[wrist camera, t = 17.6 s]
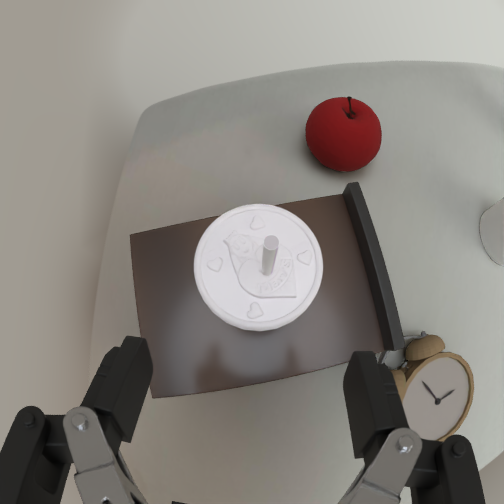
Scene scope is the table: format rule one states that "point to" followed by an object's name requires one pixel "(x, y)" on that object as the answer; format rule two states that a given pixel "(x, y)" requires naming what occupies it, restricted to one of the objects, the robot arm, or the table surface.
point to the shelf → (269, 341)
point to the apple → (343, 133)
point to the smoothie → (258, 267)
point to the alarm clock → (433, 387)
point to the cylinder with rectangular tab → (493, 232)
